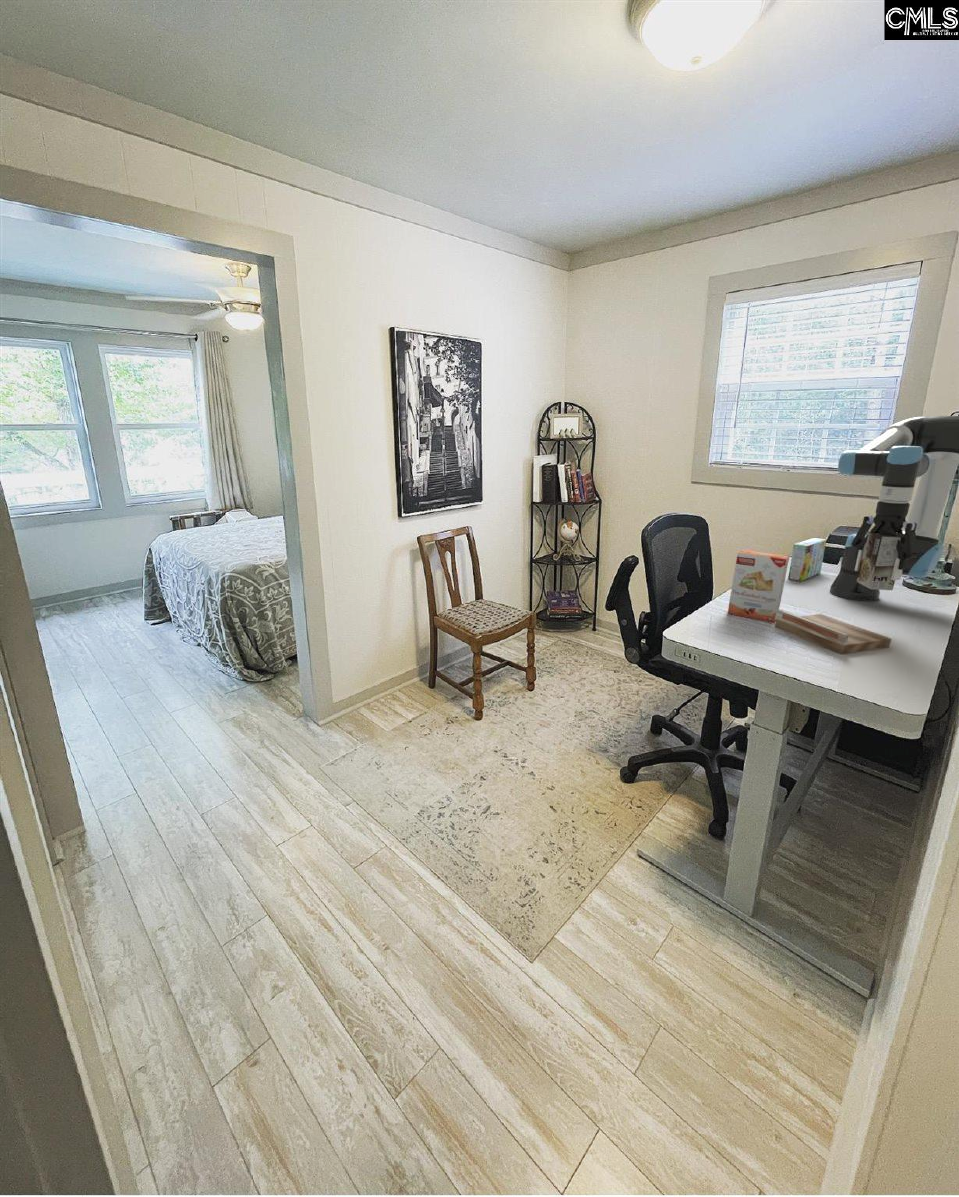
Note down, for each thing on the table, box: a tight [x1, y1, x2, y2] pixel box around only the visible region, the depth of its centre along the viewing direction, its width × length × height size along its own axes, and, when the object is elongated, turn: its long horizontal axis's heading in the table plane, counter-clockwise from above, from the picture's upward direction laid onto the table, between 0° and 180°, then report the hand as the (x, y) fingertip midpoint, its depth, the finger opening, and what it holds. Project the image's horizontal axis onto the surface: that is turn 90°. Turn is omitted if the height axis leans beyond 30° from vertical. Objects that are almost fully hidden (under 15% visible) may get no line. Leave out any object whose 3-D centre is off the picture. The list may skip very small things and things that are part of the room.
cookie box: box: [857, 531, 905, 591], centre depth 158 cm, size 9×6×16 cm
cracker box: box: [727, 549, 790, 623], centre depth 168 cm, size 14×6×21 cm, turn 52°
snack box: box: [787, 537, 827, 582], centre depth 219 cm, size 21×6×15 cm, turn 130°
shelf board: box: [774, 609, 892, 655], centre depth 154 cm, size 18×22×6 cm
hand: (876, 574), depth 159 cm, fingers closed on cookie box, 10 cm apart
